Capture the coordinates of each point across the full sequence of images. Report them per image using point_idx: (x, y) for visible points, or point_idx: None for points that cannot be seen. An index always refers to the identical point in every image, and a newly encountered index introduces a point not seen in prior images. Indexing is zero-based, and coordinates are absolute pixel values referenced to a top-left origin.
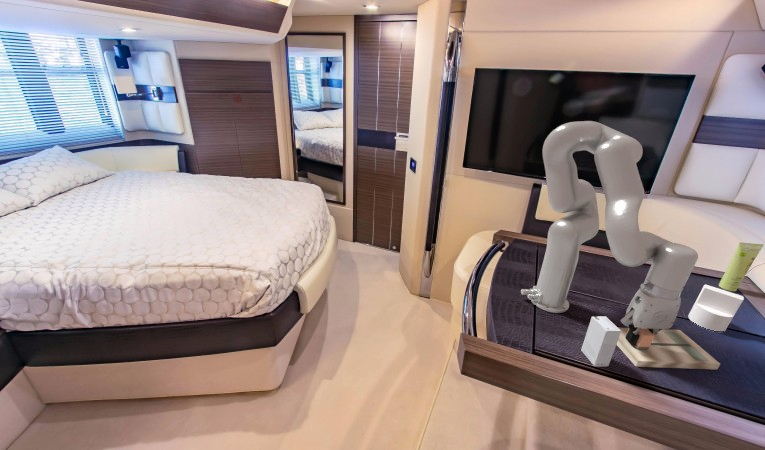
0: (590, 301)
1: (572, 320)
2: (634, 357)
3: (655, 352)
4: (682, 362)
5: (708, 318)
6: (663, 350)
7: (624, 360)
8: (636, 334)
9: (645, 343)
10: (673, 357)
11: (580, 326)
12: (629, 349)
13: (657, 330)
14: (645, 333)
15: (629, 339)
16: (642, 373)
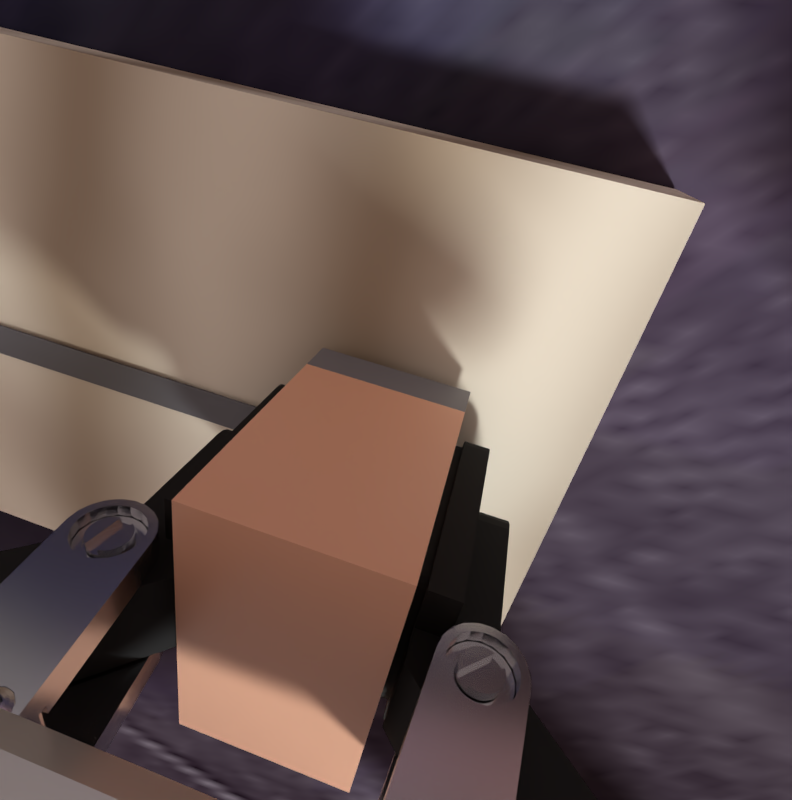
0: (298, 794)
1: (649, 789)
2: (661, 287)
3: (259, 287)
4: (28, 42)
5: None
6: (133, 289)
7: (712, 315)
8: (476, 623)
9: (368, 422)
10: (89, 156)
11: (653, 737)
12: (575, 417)
13: (26, 589)
14: (317, 601)
15: (504, 542)
16: (728, 43)
